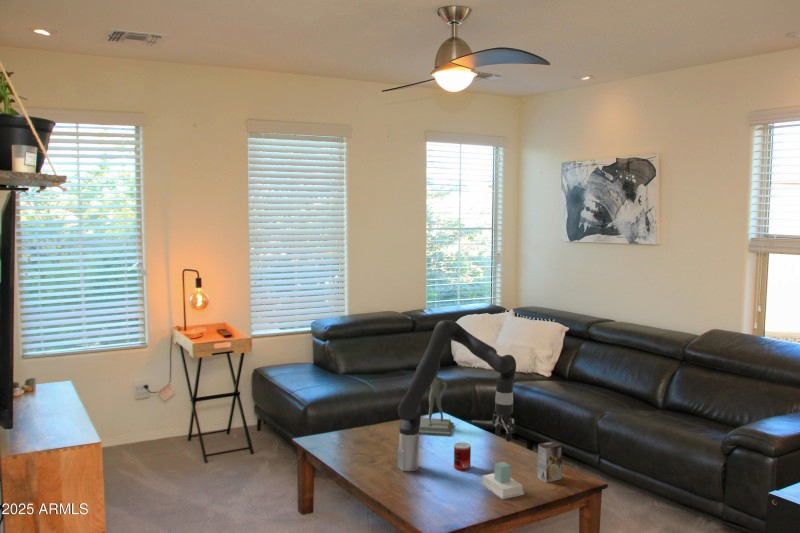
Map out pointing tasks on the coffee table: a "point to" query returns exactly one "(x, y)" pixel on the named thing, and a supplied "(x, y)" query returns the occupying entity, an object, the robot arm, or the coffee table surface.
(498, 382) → the robot arm
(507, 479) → the block
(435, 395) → the statue
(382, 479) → the coffee table surface
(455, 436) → the coffee table surface
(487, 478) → the plinth
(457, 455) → the canned food
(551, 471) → the coffee box
